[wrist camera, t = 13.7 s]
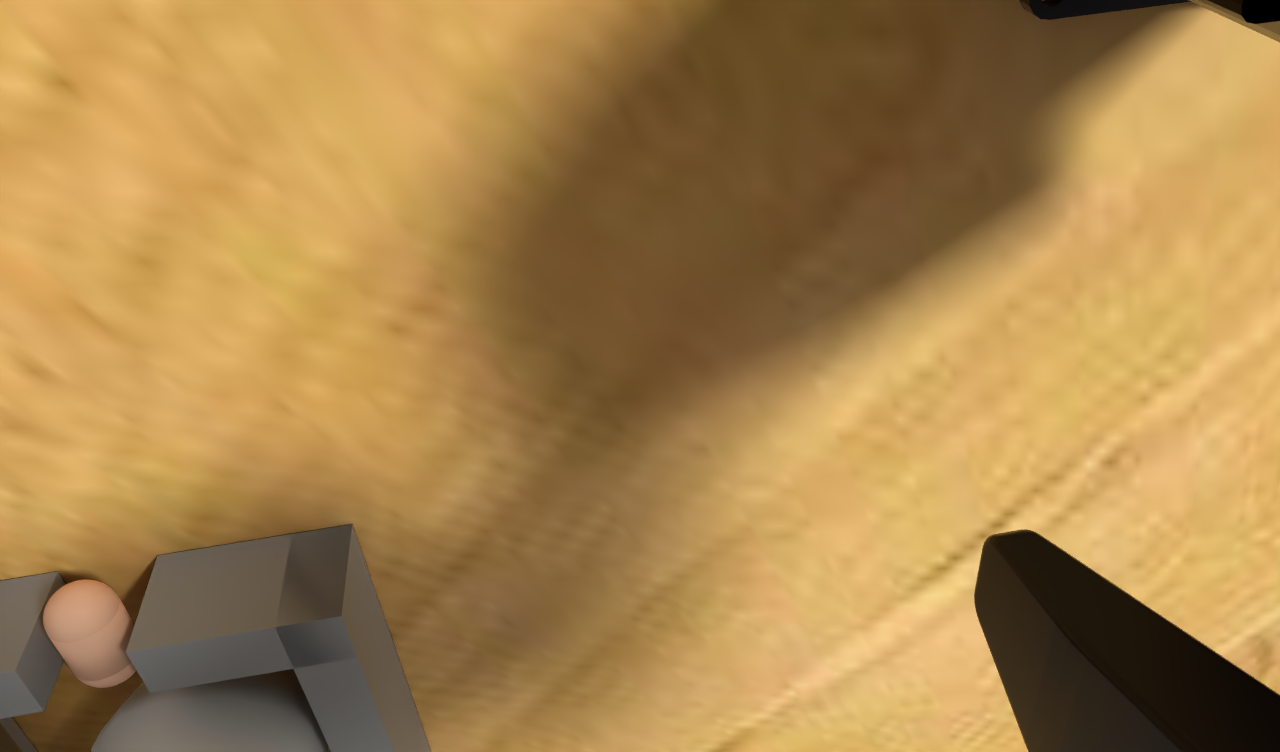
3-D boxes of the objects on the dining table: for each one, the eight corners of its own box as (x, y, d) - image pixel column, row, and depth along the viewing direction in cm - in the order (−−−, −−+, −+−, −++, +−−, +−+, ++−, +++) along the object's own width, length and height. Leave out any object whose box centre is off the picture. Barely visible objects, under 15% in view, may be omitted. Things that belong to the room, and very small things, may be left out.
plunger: (114, 560, 23) (94, 612, 22) (161, 642, 25) (144, 695, 24) (43, 571, 23) (19, 624, 22) (95, 653, 25) (76, 707, 24)
